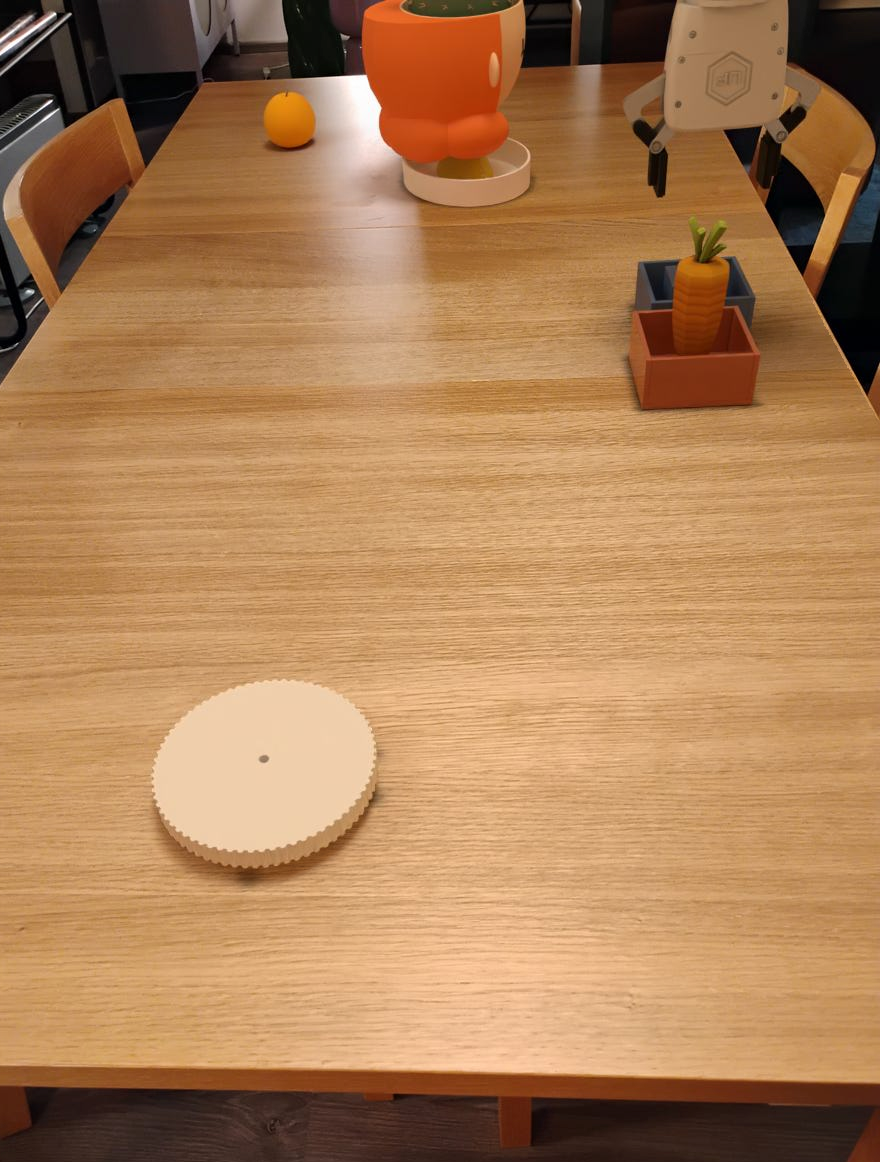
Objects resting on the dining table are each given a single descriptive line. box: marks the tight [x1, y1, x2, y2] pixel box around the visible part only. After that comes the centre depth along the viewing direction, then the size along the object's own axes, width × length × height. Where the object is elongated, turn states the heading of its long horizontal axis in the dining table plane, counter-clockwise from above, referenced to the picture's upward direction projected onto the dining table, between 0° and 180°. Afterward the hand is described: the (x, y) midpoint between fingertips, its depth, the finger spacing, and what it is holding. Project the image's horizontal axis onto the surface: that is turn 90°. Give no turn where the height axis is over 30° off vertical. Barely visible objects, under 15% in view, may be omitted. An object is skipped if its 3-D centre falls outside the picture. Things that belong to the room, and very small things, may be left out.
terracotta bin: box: [628, 306, 761, 410], centre depth 97 cm, size 10×10×5 cm
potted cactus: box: [361, 0, 531, 208], centre depth 131 cm, size 22×22×35 cm
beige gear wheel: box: [150, 678, 379, 869], centre depth 64 cm, size 14×14×2 cm
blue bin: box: [633, 255, 757, 332], centre depth 105 cm, size 10×10×5 cm
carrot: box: [672, 216, 730, 356], centre depth 93 cm, size 5×5×15 cm
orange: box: [263, 91, 317, 149], centre depth 159 cm, size 8×8×8 cm
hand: (710, 188), depth 97 cm, fingers open, 9 cm apart
